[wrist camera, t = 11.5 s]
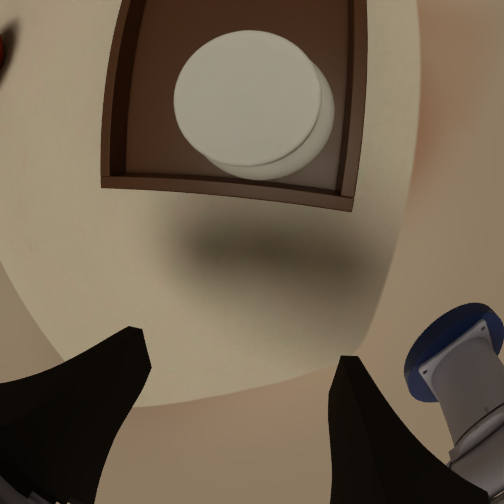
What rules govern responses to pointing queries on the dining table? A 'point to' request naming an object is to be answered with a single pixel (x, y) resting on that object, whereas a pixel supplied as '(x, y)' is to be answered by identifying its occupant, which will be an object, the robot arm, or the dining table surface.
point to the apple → (1, 51)
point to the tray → (172, 62)
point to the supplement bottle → (254, 105)
